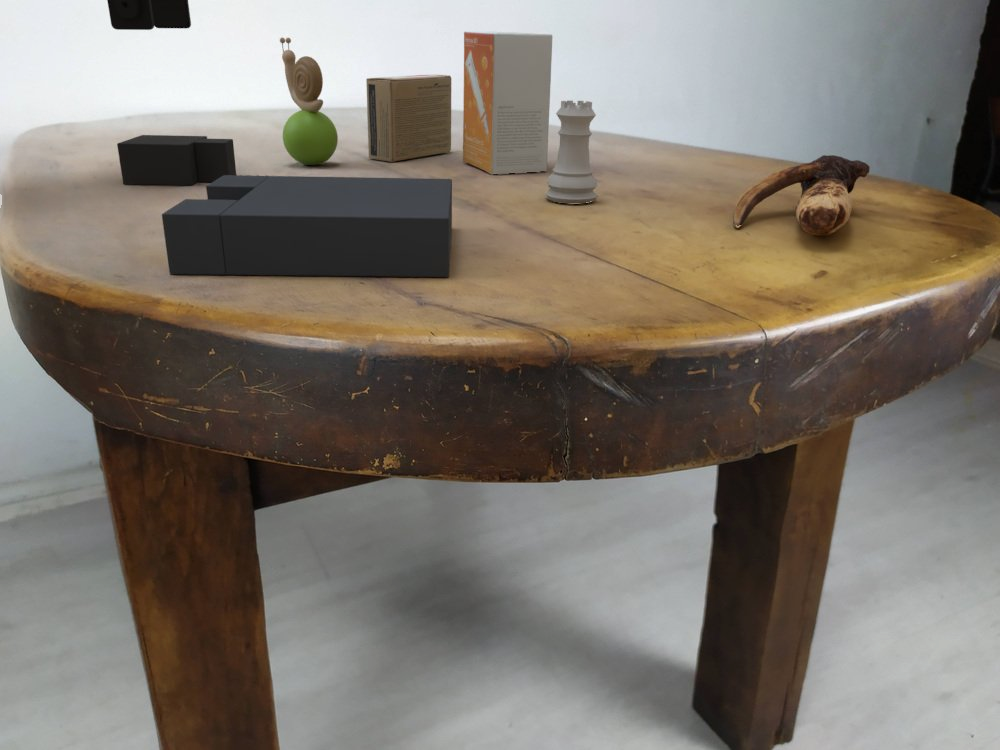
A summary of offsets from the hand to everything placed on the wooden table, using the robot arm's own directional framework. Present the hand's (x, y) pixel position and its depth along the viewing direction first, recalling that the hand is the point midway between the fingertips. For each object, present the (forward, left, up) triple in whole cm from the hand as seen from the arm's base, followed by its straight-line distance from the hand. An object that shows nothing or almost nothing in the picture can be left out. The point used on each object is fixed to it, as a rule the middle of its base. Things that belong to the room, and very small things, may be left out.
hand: (154, 28), depth 71 cm
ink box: (+21, +17, -13) cm, 30 cm away
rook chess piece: (+36, -7, -13) cm, 39 cm away
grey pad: (+18, -25, -13) cm, 33 cm away
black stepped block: (+1, 0, -13) cm, 13 cm away
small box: (+31, +10, -13) cm, 35 cm away
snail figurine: (+11, +10, -13) cm, 19 cm away
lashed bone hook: (+52, -15, -13) cm, 56 cm away
